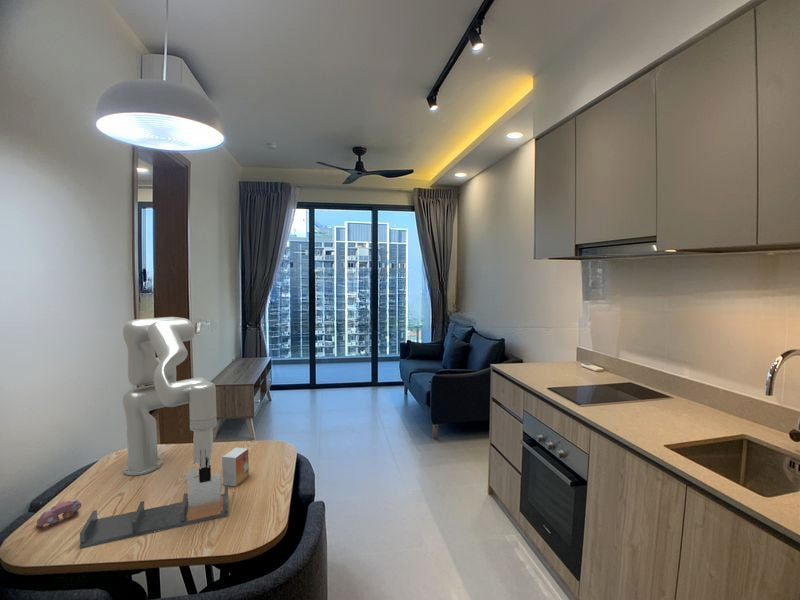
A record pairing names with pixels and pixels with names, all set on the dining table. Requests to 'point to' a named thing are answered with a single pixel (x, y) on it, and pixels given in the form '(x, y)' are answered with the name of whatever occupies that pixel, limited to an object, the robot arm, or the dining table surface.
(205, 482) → the panel
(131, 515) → the slot rack
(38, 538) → the dining table surface
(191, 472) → the car cutout
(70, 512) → the video game controller
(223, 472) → the small box
